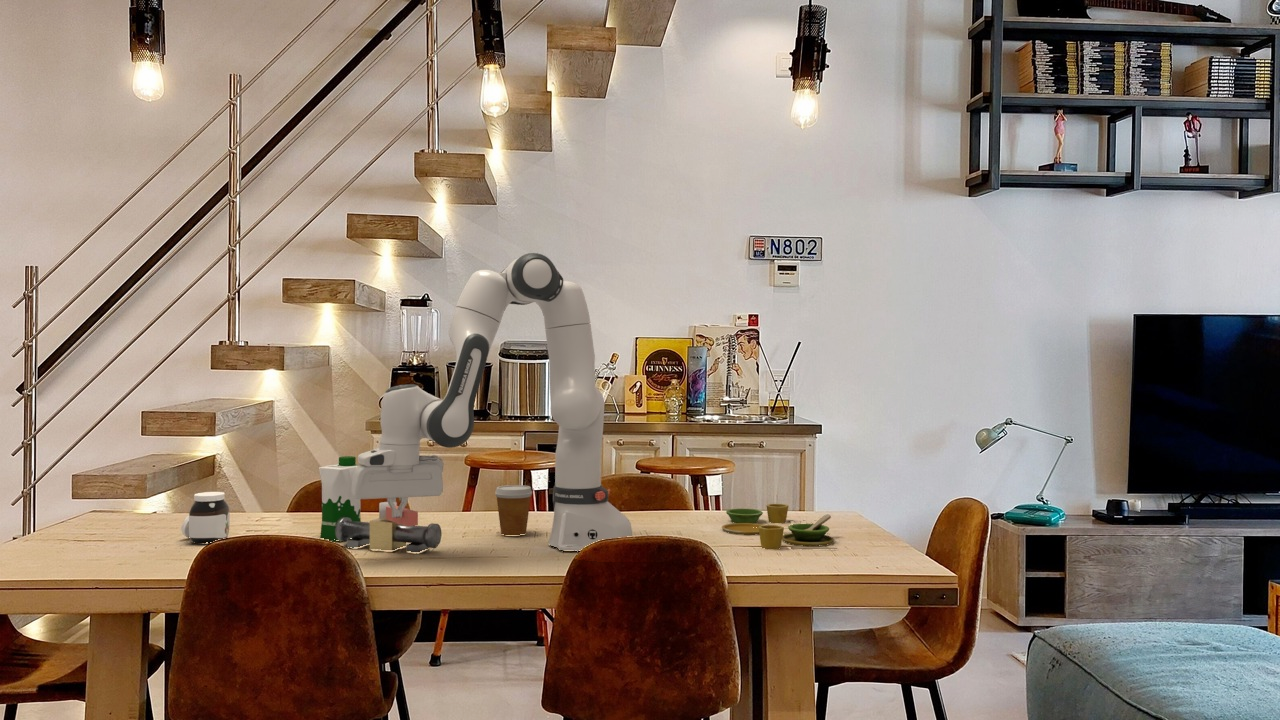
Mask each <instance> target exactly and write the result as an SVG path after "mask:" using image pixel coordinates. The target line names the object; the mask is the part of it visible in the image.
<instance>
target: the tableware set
mask: <svg viewBox="0 0 1280 720" xmlns="http://www.w3.org/2000/svg"><path fill="white" fill-rule="evenodd" d="M766 511H767V519H768V523H770V522H771V523H770V524H760V523H759V524H758V523H757V522H758V520H760V517H761V516H763V513H764V512H763V511H762V510H759V509H753V508H732V509H731V508H730V509H727V510H726V511H725V513H726V514H727V516H728V517H729V519H730V520H731V522H732V523H727V524H723V525H722V526H721V529H722V530H723V531H724V532H725V531H726V532H725V533H728V532H729V533H728V534H731V533H734V534H733V535H738V534H744V535H743V536H756V535H755V534H759V541H760V547H762V548H761V549H763V548H765V549H764V550H768V549H777V550H780V549H781V547H782V543H783V542H784V541H785V542H784V543H786V542H787V543H786V544H788V543H790V544H789V545H790V547H791V549H802V550H810V549H838V547H829V546H828V545H827V544H829V545H831V544H832V543H833V542H834V541H835V538H834V537H832V536H830V535H825V534H826V533H827V534H828V532H829V530H830V527H829V526H826V525H824V523H826V522H827V521H829V520H830V519H831V518H832V516H831V514H825V515H823V516H822V517H821V518H819V519H818V520H814V519H813V520H814V521H817V522H816V523H815V524H813V523H806V524H801V523H796V524H793V525H790V526H788V525H787V528H788V530H789V532H788V531H786V532H785V531H784V530H785V528H784V526H781V525H777V524H776V525H775V523H782V524H785V522H786V523H787V518H788V513H789V505H788V504H786V503H769V504H766ZM789 521H794V520H792V519H789V520H788V522H789ZM803 521H806V520H803ZM733 522H734V523H733ZM753 523H754V524H753ZM753 527H754V528H753ZM756 527H757V528H756ZM783 533H784V534H783ZM782 541H783V542H782ZM830 543H831V544H830ZM792 544H794V545H792ZM791 545H792V546H791ZM797 545H803V546H797ZM819 545H825V546H819ZM826 546H827V547H826ZM779 548H780V549H779Z"/></svg>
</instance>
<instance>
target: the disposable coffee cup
mask: <svg viewBox="0 0 1280 720" xmlns="http://www.w3.org/2000/svg"><path fill="white" fill-rule="evenodd" d="M494 494H495V497H496V502H497V504H496V505H497V511H498V520H499V527H500V529H499V530H500V535H501V534H504V535H520V534H525V533H526V534H527V528H528V527H527V526H528V520H529V513H530V504H531V497H532V494H533V491H532V487H531V486H530V485H522V484H521V485H520V484H509V485H500V486H497V487H496V490H495V492H494Z"/></svg>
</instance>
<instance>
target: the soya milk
mask: <svg viewBox="0 0 1280 720" xmlns="http://www.w3.org/2000/svg"><path fill="white" fill-rule="evenodd" d="M356 461H357V460H356V456H352V455H351V456H350V455H349V456H348V455H347V456H346V455H345V456H339V457H338V464H330V465H325V466H320V467H318V472H319V477H320V482H321V523H320V524H321V525H320V536H319V539H320V538H324V539H329V540H333V541H332V542H335V541H336V540H338V539H337V538H336V535H335V527H336V524H337V522H338V520H339V519H340V518H342V517H349V518H351V520H352V521H357V522H362V521H361V499H356V498H355V497H354V496H353V495H352V493H351V489H352V480H353V474H354V471H355V469H356V467H357V466H358V465H359V464H356ZM334 539H335V540H334ZM336 543H338V542H337V541H336Z"/></svg>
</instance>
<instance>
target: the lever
mask: <svg viewBox="0 0 1280 720" xmlns="http://www.w3.org/2000/svg"><path fill="white" fill-rule="evenodd" d="M394 505H395V507H396V509H398V507H399V506H398V501H396V503H394ZM378 507H379V508H378V509H379V511H378V516H379V517H378V518H379V519H386V520H389V521H392V522H395V523H399V524H402V525H405V526H419V525H418V524H419V519H418V517H419V512H418V511H417V510H413V509H411V508H410V509H409V508H406V507H404V509H403V511H402V517H400V518H393V517H392V509H391V507H390V506H389V504H388V502H387V501H384V502H383V501H382V502H379V506H378Z"/></svg>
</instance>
